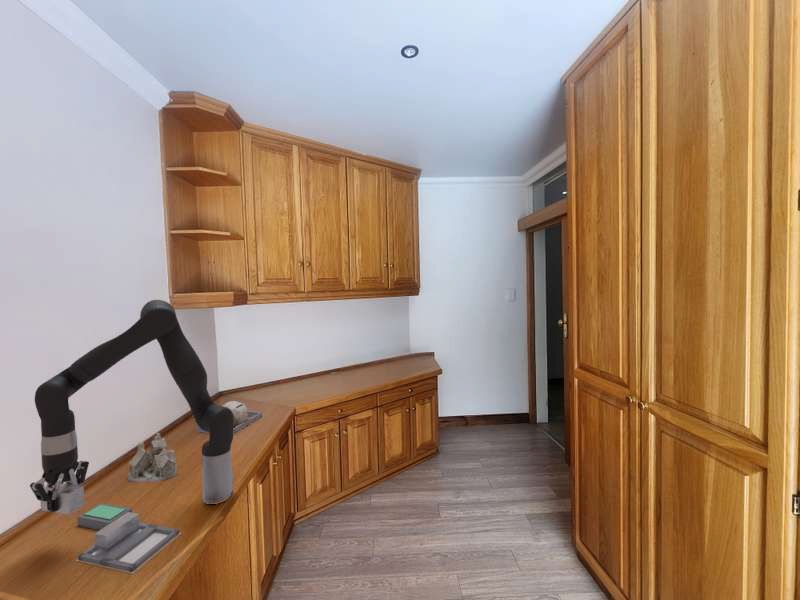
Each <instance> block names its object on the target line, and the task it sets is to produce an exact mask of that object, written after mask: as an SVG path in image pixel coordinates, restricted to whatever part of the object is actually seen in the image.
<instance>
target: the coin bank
mask: <svg viewBox="0 0 800 600" xmlns="http://www.w3.org/2000/svg"><path fill="white" fill-rule="evenodd" d="M222 407H226V408H229V409H230V410H231V411H232V413H233V417H234V427H236V426H238V425H240V424H241V423H243V422H245V421H247V420H248V419H249V416H248V411H249V410H248V408H247V406H246V405H245V404H244V403H243V402H239V401H236V400H231V401H227V402H225V403H223V405H222Z"/></svg>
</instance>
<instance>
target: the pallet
mask: <svg viewBox="0 0 800 600" xmlns="http://www.w3.org/2000/svg"><path fill="white" fill-rule="evenodd" d="M181 533H182V532H180V529H177V528H172V527H166V526H162V525H156V524H152V523H151V524H150V523H147V522H140V521H139V533H137V534H136V535H135V536H133V537H132V538H131V539H129V540H128V541H127V542H125V543H124V544H122V545H121V546H120V547H118V548H117V549H116V550H114V551H113V552H111V553H110V554H109V555H107V556H106V557H105V556H100V555H96V554H95V544H94V545H92V546H90V547H89V548H87V549H85V551H83V552H82V553H80V554H79V555H77V559H76V560H75V561H76V562H80V563H86V564H89V565H93V566H96V567H101V568H102V567H103V568H106V569H110V570H116V571H120V572H124V573H129V574H134V573H135V572H136V571H138V570H139V569H140V568H141V567H142V566H144V565H145V564H146V563H147V562H148V561H149V560H151V559H152V558H154V556H156V555H157V554H158V553H159V552H161V551H162V550H163V549H164V548H165V547H166V546H168V545H169V544H170V543H171V542H173V541H174V540H175V539H176V538H178V536H180V535H181Z"/></svg>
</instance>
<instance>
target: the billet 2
mask: <svg viewBox="0 0 800 600" xmlns="http://www.w3.org/2000/svg"><path fill="white" fill-rule="evenodd" d="M139 522H140V514H139V513H136V512H132V513H131V512H127V513H126V514H124V515H123V516H121V517H119V518H118V519H116V520H115V521H113V522H112V523H110V524H109V525H107V526H106V527H104V528H103V529H101V530H98V531H96V532H95V533H94V545H95V554H96V555H100V556H105V557H106V556H107V555H109V554H110V553H111V552H113V551H114V550H116V549H117V548H118V547H120V546H121V545H122V544H124V543H125V542H127V541H128V540H129V539H131V538H132V537H133V536H135V535H136V534H137V533H139Z"/></svg>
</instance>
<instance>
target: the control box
mask: <svg viewBox="0 0 800 600" xmlns="http://www.w3.org/2000/svg"><path fill="white" fill-rule="evenodd" d="M99 505H104V506H109V507H115V508H120V509H125V511H124V512H123V513H121V514H120V515H118V516H116V517H115V518H113V519H112V520H110V521H109V520H104V519H99V518H93V517H88V516H85V515H84V514H86V513H87V512H89V511H91V510H93V509H94V508H96V507H98V506H99ZM127 512H131V513H133V508H132V507H127V506H120V505H115V504H109V503H104V502H101V503H99V504H97V505H95V506H93V507H91V508H90V509H88V510H87V511H85V512H84V513H82V514H79V515H78V516H77V526H78V527H82V528H88V529H93V530H98V531H99V530H101V529H103V528H104V527H106V526H107V525H109V524H110V523H112V522H113V521H115V520H116V519H118V518H119V517H121V516H123V515H124V514H126V513H127Z"/></svg>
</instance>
